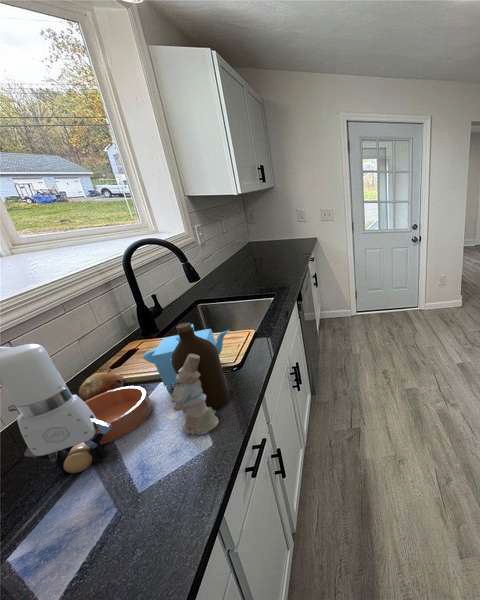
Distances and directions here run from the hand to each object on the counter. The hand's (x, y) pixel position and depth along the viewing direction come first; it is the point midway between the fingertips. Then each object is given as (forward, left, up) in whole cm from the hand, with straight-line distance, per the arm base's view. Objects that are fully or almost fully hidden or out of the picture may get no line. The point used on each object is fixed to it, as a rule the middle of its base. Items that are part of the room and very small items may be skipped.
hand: (84, 462), depth 73 cm
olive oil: (+26, +8, -1) cm, 27 cm away
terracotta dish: (+2, +14, 0) cm, 14 cm away
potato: (0, 0, 0) cm, 0 cm away
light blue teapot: (+22, +27, -1) cm, 35 cm away
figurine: (+24, -1, -1) cm, 24 cm away
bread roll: (-4, +33, -1) cm, 33 cm away
